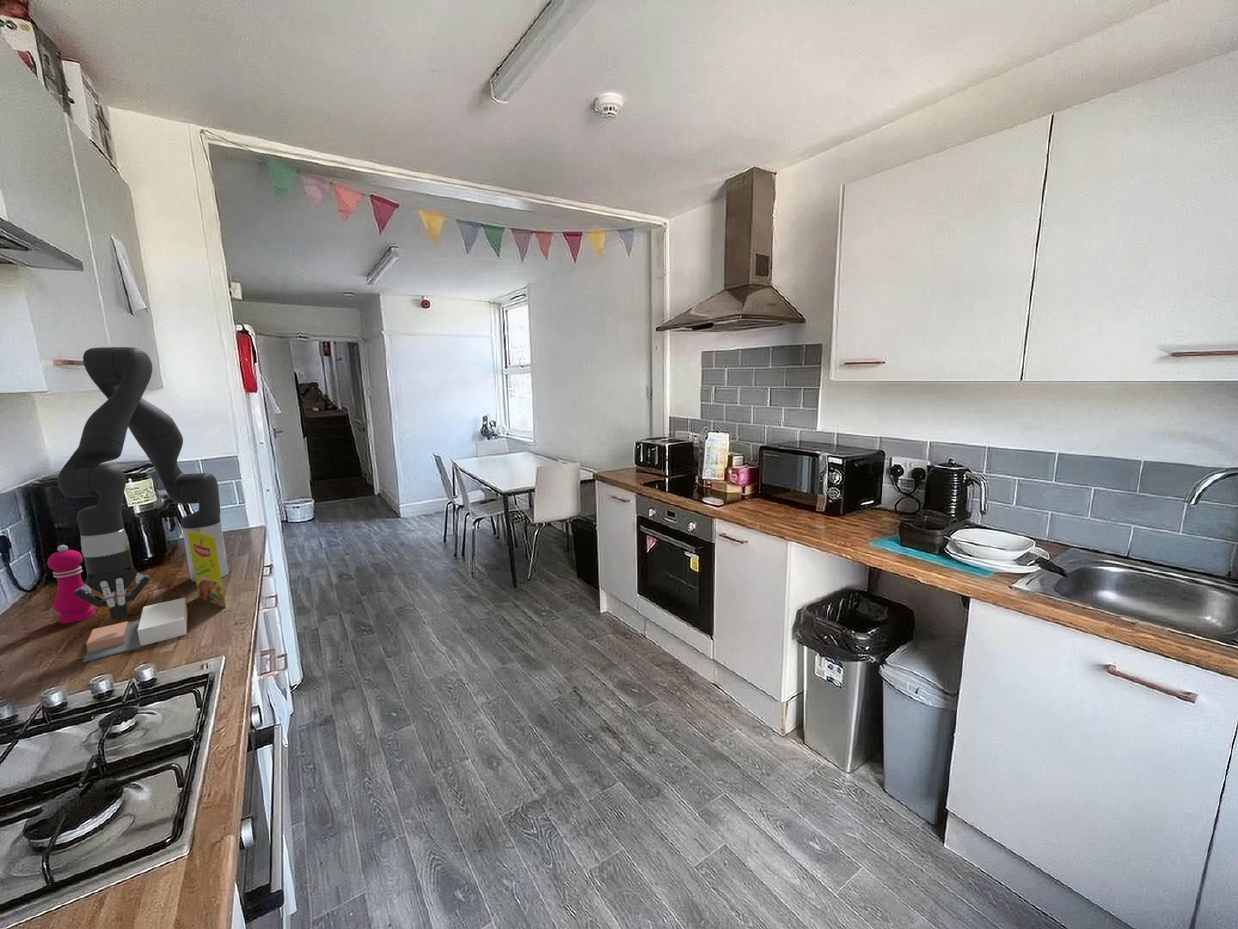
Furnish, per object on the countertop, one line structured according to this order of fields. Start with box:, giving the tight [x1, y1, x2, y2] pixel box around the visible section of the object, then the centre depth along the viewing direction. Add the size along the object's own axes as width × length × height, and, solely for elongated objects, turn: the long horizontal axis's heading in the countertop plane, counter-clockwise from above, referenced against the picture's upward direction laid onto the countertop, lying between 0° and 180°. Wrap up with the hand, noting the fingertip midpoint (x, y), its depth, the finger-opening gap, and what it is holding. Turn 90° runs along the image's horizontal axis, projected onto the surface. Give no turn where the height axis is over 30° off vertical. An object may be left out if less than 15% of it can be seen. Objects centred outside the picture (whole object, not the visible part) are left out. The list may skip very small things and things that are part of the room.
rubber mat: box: [82, 619, 142, 664], centre depth 116 cm, size 18×9×1 cm, turn 40°
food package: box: [187, 530, 227, 608], centre depth 134 cm, size 15×1×20 cm, turn 62°
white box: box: [138, 597, 188, 647], centre depth 121 cm, size 16×8×4 cm, turn 40°
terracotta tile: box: [85, 620, 129, 652], centre depth 115 cm, size 9×6×2 cm, turn 40°
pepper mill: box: [46, 544, 96, 624], centre depth 126 cm, size 7×7×20 cm
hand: (120, 619), depth 116 cm, fingers closed
